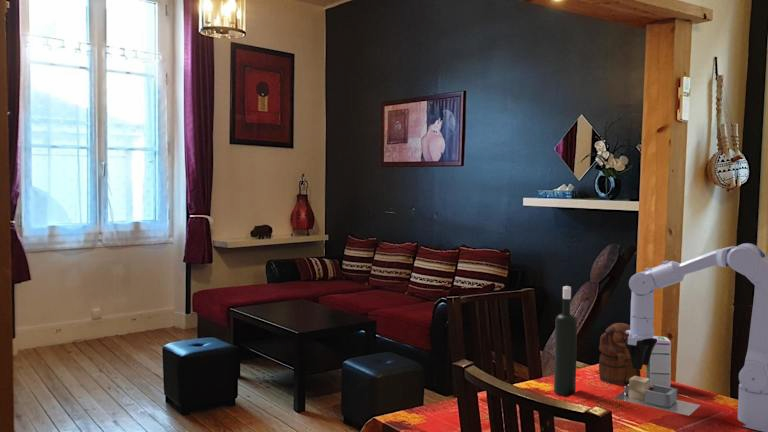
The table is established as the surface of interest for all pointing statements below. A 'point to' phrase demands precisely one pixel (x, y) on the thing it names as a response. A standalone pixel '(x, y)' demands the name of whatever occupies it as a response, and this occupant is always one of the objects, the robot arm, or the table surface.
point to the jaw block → (638, 387)
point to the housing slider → (661, 395)
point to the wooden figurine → (616, 356)
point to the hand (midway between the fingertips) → (640, 366)
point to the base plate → (676, 407)
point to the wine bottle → (565, 348)
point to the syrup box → (660, 363)
